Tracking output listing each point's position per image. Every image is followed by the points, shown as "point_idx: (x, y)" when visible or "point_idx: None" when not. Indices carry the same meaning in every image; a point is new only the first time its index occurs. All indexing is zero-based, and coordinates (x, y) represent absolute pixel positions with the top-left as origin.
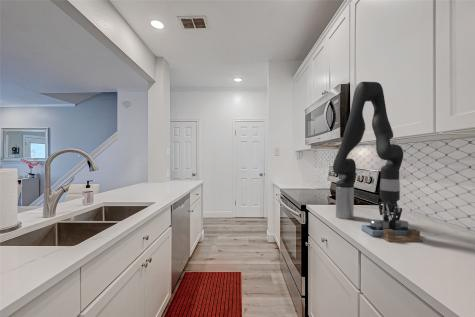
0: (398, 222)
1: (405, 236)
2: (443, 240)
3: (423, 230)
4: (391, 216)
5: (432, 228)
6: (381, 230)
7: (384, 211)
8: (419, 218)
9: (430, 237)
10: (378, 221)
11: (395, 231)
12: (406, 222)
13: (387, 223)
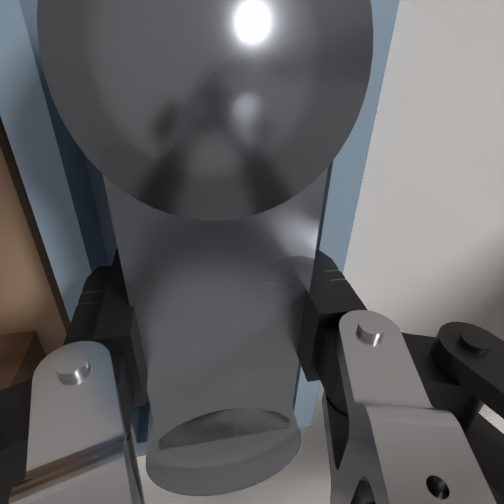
0: (153, 416)
1: (36, 318)
2: None
3: (295, 465)
4: (31, 458)
5: (324, 501)
6: (16, 47)
7: (369, 472)
8: None
9: (142, 456)
10: (190, 104)
11: (56, 269)
12: (167, 480)
13: (126, 259)
